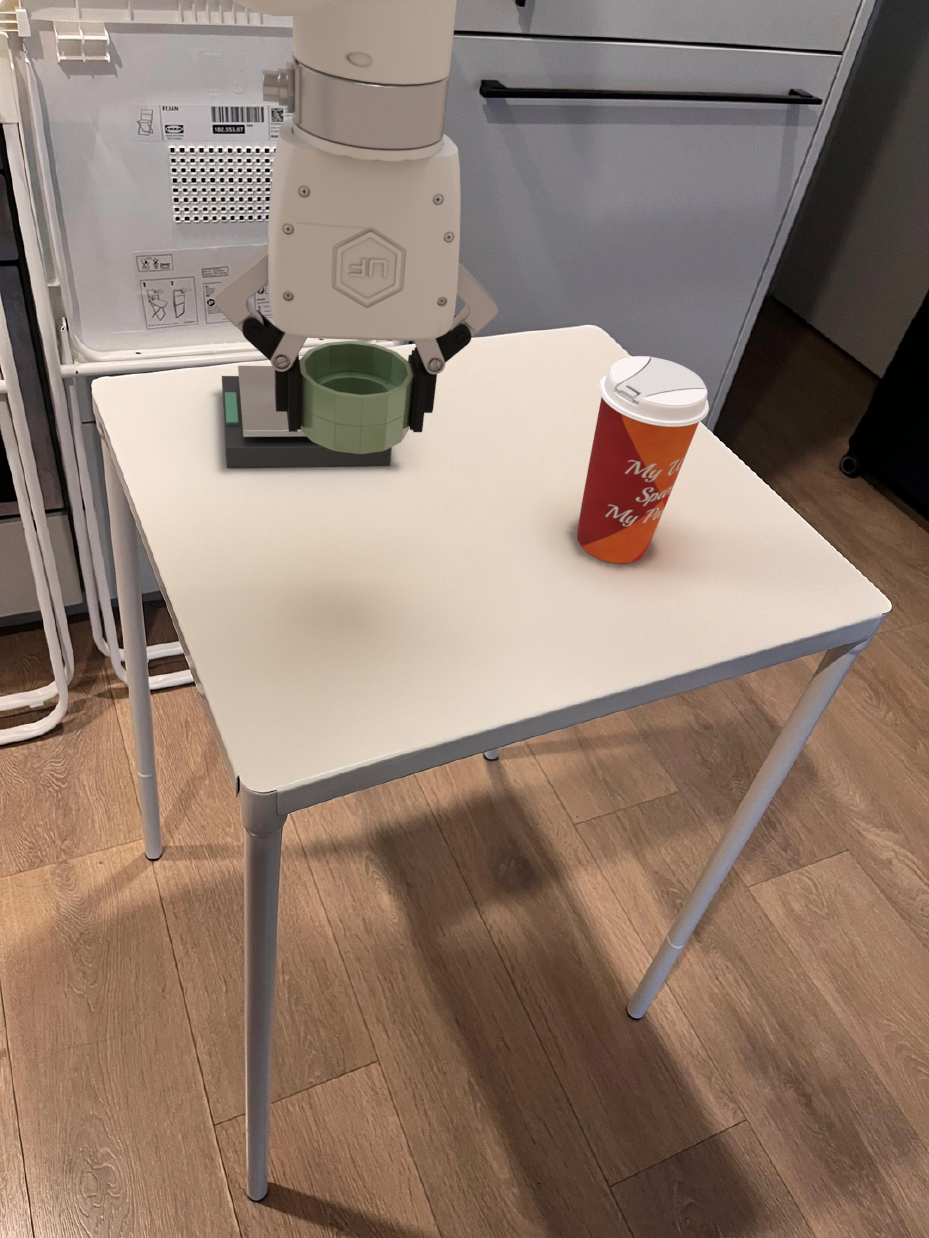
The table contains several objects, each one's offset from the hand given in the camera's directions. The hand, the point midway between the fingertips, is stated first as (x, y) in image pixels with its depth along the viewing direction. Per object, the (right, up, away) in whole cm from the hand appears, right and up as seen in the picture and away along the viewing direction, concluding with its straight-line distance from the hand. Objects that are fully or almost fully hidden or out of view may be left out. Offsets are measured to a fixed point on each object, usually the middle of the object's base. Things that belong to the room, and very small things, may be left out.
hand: (353, 418), depth 59 cm
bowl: (0, -1, 0) cm, 1 cm away
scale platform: (-7, +7, +25) cm, 27 cm away
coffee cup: (+19, -6, +21) cm, 29 cm away
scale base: (-8, +5, +27) cm, 29 cm away
